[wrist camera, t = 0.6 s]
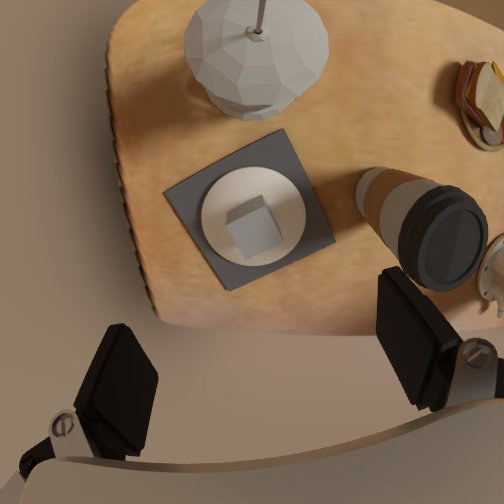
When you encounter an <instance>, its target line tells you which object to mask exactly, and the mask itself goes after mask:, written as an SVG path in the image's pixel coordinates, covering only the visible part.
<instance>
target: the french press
mask: <svg viewBox="0 0 504 504" xmlns="http://www.w3.org/2000/svg"><path fill="white" fill-rule="evenodd" d="M184 55H185V59H186V61H187V63H188V65H189V67H190V69H191V71H192V73H193V75H194V77H195V79H196V80H197V81H198V82H200V83H201V84H202V85H204V88H205V90H206V92H207V94H208V96H209V98H210V100H211V102H212V103H213V104H214V105H215V106H216V107H217V108H219V109H220V110H221V111H222V112H223V113H224V114H226V115H229V116H232V117H235V118H238V119H240V120H264V119H266V118H269V117H271V116H274V115H276V114H279V113H281V112H282V111H283V110H284V109H285V108H286V107H287V106H288V105H289V104H290V103H291V102H292V101H293V100H294V98H296V97H299V96H300V95H301V94H302V93H303V92H305V91H306V90H307V89H308V88H309V87H310V86H311V85H313V84H314V83H315V82H316V81H317V80H318V79H319V77H320V75H321V73H322V71H323V68H324V66H325V64H326V62H327V60H328V58H329V52H328V33H327V31H326V29H325V27H324V25H323V23H322V21H321V19H320V17H319V15H318V13H317V11H315V10H314V9H313V8H312V7H311V6H310V5H308V4H307V3H306V2H305V1H304V0H207V1H206V2H205V3H204V4H203V5H201V6H200V7H199V8H198V9H197V10H196V11H195V13H194V15H193V17H192V19H191V21H190V23H189V25H188V27H187V29H186V31H185V48H184Z"/></svg>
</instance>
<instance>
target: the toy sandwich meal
mask: <svg viewBox="0 0 504 504" xmlns="http://www.w3.org/2000/svg"><path fill="white" fill-rule="evenodd" d="M455 101H456V105H457V107H459V108H461V113H462V117H463V120H464V123H465V126H466V128H467V130H468V132H469V134H470V135H471V137H472V138H473V140H474V141H475V142H476V143H477V144H478V145H479V146H480V147H481V148H483V149H484V150H487V151H490V152H495V151H499V150H501V149H502V148H503V147H504V76H503V75H502V73H501V71H500V70H499V68H498V66H497V65H496V63H495V62H494V61H493V62H492V65H491V64H490V63H489V62H481V63H475V62H472V61H467V62H466V63H465V64H464V65H463V67H462V68H461V70H460V73H459V76H458V80H457V85H456V93H455Z"/></svg>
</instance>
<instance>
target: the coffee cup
mask: <svg viewBox="0 0 504 504" xmlns="http://www.w3.org/2000/svg"><path fill="white" fill-rule="evenodd" d="M355 200H356V204H357V208H358V209H359V211H360V212H361V214H362V215H363V216H364V217H365V219H366V220H367V221H368V223H369V225H370V226H371V227H372V228H373V230H374V231H375V232H376V233H377V235H378V236H379V237H380V238H381V240H382V241H383V242H384V244H385V245H386V246H387V247H388V248H389V249H390V250H391V251H392V252H393V254H394V255H395V256H396V258H397V259H398V260H399V263H400V265H401V267H402V269H403V271H404V273H405V274H407V275H408V276H409V277H410V278H411V279H412V280H414V281H415V282H416V283H417V284H418V285H419V286H422V287H424V288H427V289H431V290H433V291H436V292H446V291H449V290H452V289H455V288H456V287H458V286H460V285H462V284H463V283H464V282H465V281H466V280H467V279H469V278H470V277H471V275H472V274H473V273H474V272H475V270H476V269H477V267H478V266H479V264H480V262H481V260H482V258H483V256H484V253H485V250H486V247H487V241H488V224H487V220H486V216H485V215H484V213H483V211H482V210H481V208H479V206H478V204H477V203H476V201H475V200H474V199H473V198H472V197H471V196H469V195H468V194H467V193H465V192H464V191H462V190H461V189H460V188H457V187H454V186H451V185H442V184H439V183H436V182H434V181H433V180H430V179H427V178H423V177H420V176H417V175H414V174H410V173H407V172H403V171H400V170H395V169H390V168H385V167H376V168H374V169H371V170H369V171H368V172H367V173H365V174H364V175H363V176H362V178H361V179H360V180H359V183H358V185H357V187H356V192H355Z"/></svg>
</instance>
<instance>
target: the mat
mask: <svg viewBox="0 0 504 504" xmlns="http://www.w3.org/2000/svg"><path fill="white" fill-rule="evenodd" d="M248 166H258V167H265V168H269V169H272V170H275V171H277V172H279V173H281V174H282V175H284V176H285V177H286V178H288V179H289V180H290V181H291V182H292V183H293V184H294V186H295V187H296V188H297V190H298V191H299V193H300V195H301V197H302V199H303V202H304V206H305V211H306V222H305V227H304V231H303V234H302V236H301V238H300V240H299V241H298V243H297V244H296V246H295V247H294V248H293V249H292V250H291V251H290V252H289V253H288V254H287V255H285V256H284V257H283V258H281V259H279V260H277V261H275V262H272V263H270V264H266V265H260V266H245V265H240V264H237V263H234V262H231V261H229V260H227V259H225V258H224V257H222V256H221V255H220V254H218V253H217V252H216V251H215V250H214V249H213V248H212V246H211V245H210V244H209V242H208V240H207V239H206V237H205V234H204V231H203V227H202V221H201V214H202V207H203V203H204V200H205V198H206V196H207V194H208V192H209V190H210V189H211V187H212V186H213V185H214V184H215V183H216V181H217V180H219V179H220V178H221V177H222V176H224V175H225V174H227V173H229V172H231V171H233V170H235V169H239V168H242V167H248ZM165 194H166V195H167V197H168V199H169V200H170V202H171V204H172V205H173V207H174V208H175V210H176V212H177V213H178V215H179V216H180V218H181V219H182V221H183V223H184V224H185V226H186V227H187V229H188V230H189V232H190V234H191V235H192V237H193V238H194V240H195V241H196V243H197V244H198V246H199V248H200V249H201V251H202V252H203V254H204V255H205V257H206V258H207V260H208V261H209V263H210V264H211V266H212V267H213V269H214V270H215V272H216V273H217V275H218V276H219V278H220V279H221V281H222V282H223V284H224V285H225V287H226V288H227V290H228V291H232V290H234V289H236V288H238V287H241V286H243V285H245V284H247V283H249V282H252V281H254V280H256V279H258V278H260V277H263V276H265V275H267V274H269V273H271V272H273V271H276V270H278V269H280V268H282V267H284V266H286V265H289V264H291V263H293V262H295V261H297V260H299V259H301V258H303V257H306V256H308V255H310V254H312V253H314V252H316V251H318V250H320V249H322V248H325V247H327V246H329V245H331V244H333V243H335V242H336V241H335V239H334V236H333V234H332V231H331V229H330V227H329V224H328V222H327V220H326V217H325V215H324V213H323V210H322V208H321V206H320V204H319V201H318V199H317V197H316V195H315V192H314V190H313V188H312V186H311V184H310V182H309V179H308V177H307V175H306V173H305V171H304V169H303V167H302V165H301V163H300V160H299V158H298V156H297V154H296V152H295V150H294V148H293V146H292V144H291V142H290V140H289V138H288V136H287V134H286V132H285V130H284V129H281V130H279V131H277V132H275V133H272V134H270V135H268V136H266V137H264V138H262V139H260V140H258V141H256V142H254V143H252V144H250V145H248V146H246V147H244V148H242V149H240V150H238V151H237V152H235V153H233V154H231V155H229V156H227V157H225V158H223V159H222V160H220V161H218V162H216V163H214V164H212V165H211V166H209V167H207V168H205V169H203V170H202V171H200V172H198V173H196V174H195V175H193V176H191V177H189V178H188V179H186V180H184V181H183V182H181V183H179V184H177V185H176V186H174V187H172V188H171V189H169V190H167V191H166V192H165Z"/></svg>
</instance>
